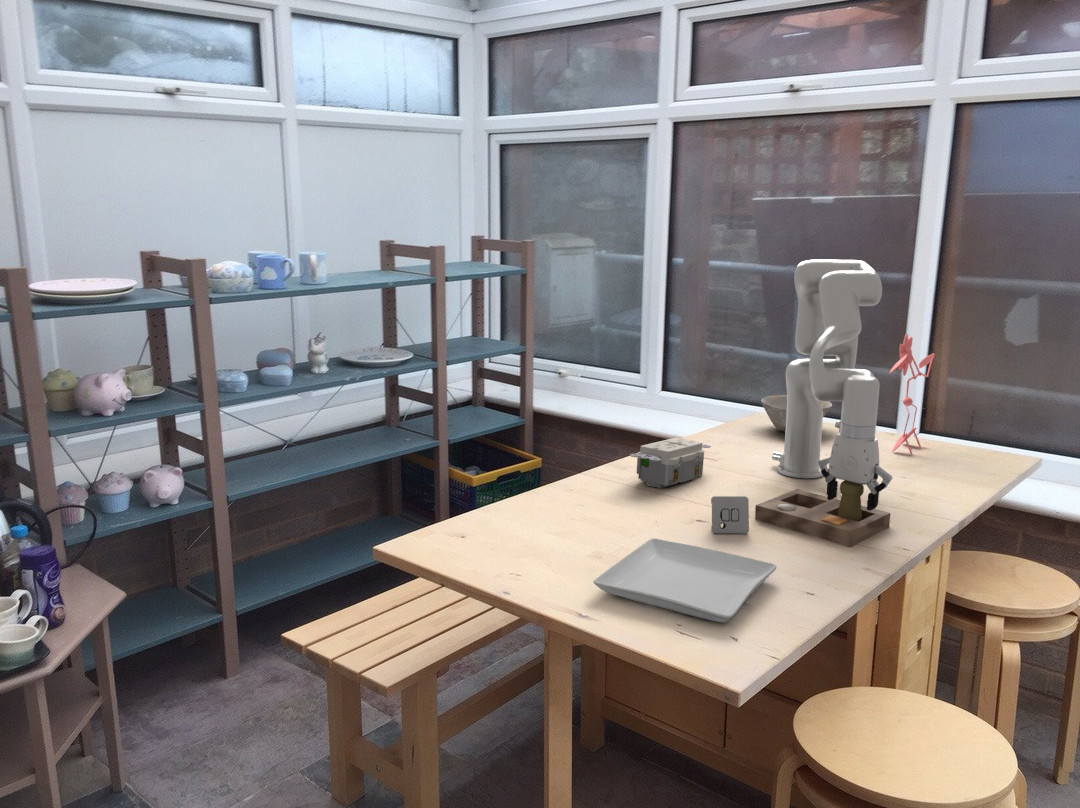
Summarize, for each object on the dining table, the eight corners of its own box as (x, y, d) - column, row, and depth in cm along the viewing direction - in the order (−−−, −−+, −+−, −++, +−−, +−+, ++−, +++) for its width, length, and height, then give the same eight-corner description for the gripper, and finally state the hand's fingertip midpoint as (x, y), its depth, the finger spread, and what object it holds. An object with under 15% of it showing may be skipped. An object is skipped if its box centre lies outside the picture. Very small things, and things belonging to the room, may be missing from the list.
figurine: (931, 442, 282) (942, 331, 274) (906, 460, 262) (918, 341, 255) (881, 435, 291) (891, 327, 284) (853, 451, 271) (863, 336, 264)
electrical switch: (711, 534, 202) (713, 498, 202) (707, 529, 207) (709, 493, 206) (749, 534, 203) (750, 498, 202) (744, 529, 207) (745, 493, 206)
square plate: (590, 599, 170) (590, 579, 169) (651, 552, 193) (652, 535, 192) (729, 635, 156) (730, 614, 155) (777, 580, 179) (778, 562, 178)
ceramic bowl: (762, 438, 286) (763, 408, 284) (757, 422, 308) (759, 393, 306) (835, 442, 282) (837, 411, 280) (824, 425, 304) (827, 395, 302)
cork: (864, 532, 204) (868, 486, 202) (836, 530, 205) (839, 484, 203) (860, 523, 210) (864, 478, 207) (833, 521, 211) (836, 476, 209)
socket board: (754, 519, 212) (755, 503, 211) (796, 502, 224) (797, 487, 224) (850, 547, 195) (851, 530, 195) (889, 527, 207) (890, 511, 207)
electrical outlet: (621, 485, 236) (623, 447, 234) (678, 468, 258) (680, 434, 256) (659, 494, 228) (662, 455, 227) (714, 476, 250) (717, 441, 249)
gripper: (813, 426, 206) (808, 498, 210) (887, 441, 194) (879, 517, 197) (830, 421, 211) (825, 491, 215) (903, 435, 199) (895, 509, 202)
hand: (851, 503), depth 206 cm, fingers open, 9 cm apart
